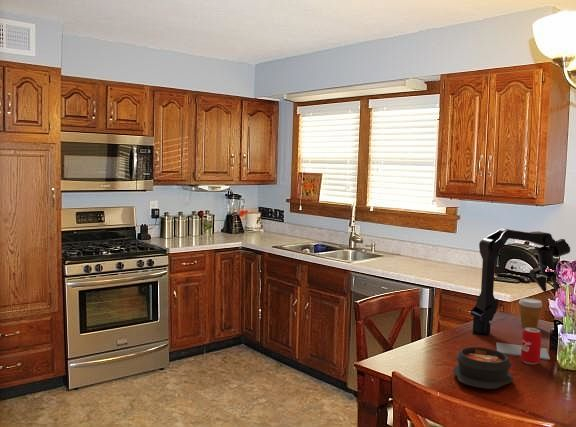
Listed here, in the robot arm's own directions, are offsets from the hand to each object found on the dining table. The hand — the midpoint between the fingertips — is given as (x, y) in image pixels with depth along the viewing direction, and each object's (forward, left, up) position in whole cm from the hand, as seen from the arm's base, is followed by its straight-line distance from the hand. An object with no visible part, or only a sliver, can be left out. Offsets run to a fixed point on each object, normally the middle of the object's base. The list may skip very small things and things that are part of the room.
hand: (552, 294), depth 234 cm
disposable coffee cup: (-8, -1, -16) cm, 18 cm away
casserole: (-27, -73, -16) cm, 79 cm away
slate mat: (-13, -38, -15) cm, 43 cm away
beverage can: (-11, -49, -16) cm, 52 cm away
